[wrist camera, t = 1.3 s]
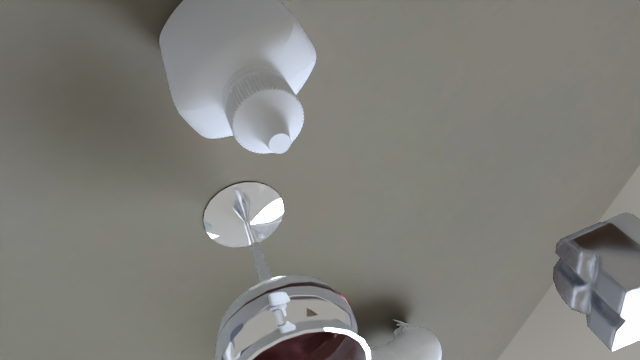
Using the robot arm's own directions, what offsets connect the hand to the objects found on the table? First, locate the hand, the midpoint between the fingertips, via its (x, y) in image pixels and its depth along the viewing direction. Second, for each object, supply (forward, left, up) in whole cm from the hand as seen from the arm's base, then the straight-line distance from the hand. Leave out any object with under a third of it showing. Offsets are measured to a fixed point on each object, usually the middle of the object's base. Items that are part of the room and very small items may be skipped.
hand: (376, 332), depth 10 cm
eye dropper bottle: (0, 0, -20) cm, 20 cm away
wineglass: (+12, -2, -20) cm, 23 cm away
